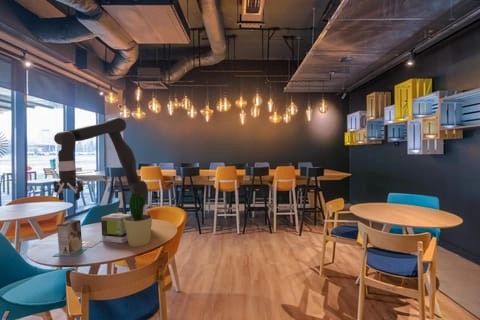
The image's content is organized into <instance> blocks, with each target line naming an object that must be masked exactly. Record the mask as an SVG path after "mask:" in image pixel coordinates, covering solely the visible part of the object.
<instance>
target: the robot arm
mask: <svg viewBox="0 0 480 320" xmlns="http://www.w3.org/2000/svg"><path fill="white" fill-rule="evenodd" d="M126 128H127V123H126V121H125V119H123V118H122V117H112V118H109V119H107V120H106V121H105V122H103V123H99V124H98V123H97V124H92V125H91V124H90V125H85V126H81V127H77V128H75V129H70V130H63V131H59V132H56V134H55V135H53V136H54V137H53V141H54V142H55V144H57V145H60V147H61V148H60V149H59V150H58V152H57V159H58V163H57V164H58V165H57V168H58V179H59V180H54V181H53V193H56V194H58V200H59V201H64V191H65V190H72V191H73V192H74V198H75V199H74V200H75V201H78V200H80V198H81V196H80V195H81V194H80V193H81V192H83V191H84V185H83V180H82V179H78V180H77V179H76V178H77V171H76V161H75V148H76V142H81V141H86V140H90V139H94V138H95V137H99V136H103V135H106V134H108V136H109V138H110V140H111V142H112V144H113V146H114V149H115V152H116V154H117V157H118V160H119V163H120V164H121V167H122V170H123V173H124V175H125V177H126V182H127V186H128V188H129V191H130V192H131V193H132V194H134V193H138V192H139V193H140V194H141V195H143V197H144V199H145V206H144V207H143V214H148V210H147V209H148V207H147V206H148V204H147V203H148V184H147V182H145V181H144V180H140V178H139V175H138V173H137V160H136V157H135V154H134V152H133V150H132V148H131V147H130V146H129V144H127V143H126V141H125V139H124V138H123V136H122V134H121V133H122V132H124V131H125V130H126Z"/></svg>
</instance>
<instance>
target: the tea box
mask: <svg viewBox="0 0 480 320" xmlns="http://www.w3.org/2000/svg"><path fill="white" fill-rule="evenodd" d="M129 216H132V213H115V212H114V213H110V214H106V215H104V216H101V217H100V220H101V221H100V223H101V238H102V239H101V242H109V243H117V244H118V243H119V244H123V243H126V242H128V238H127V234H126V229H125V224H124V218H126V217H129Z"/></svg>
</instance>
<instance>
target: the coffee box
mask: <svg viewBox="0 0 480 320" xmlns="http://www.w3.org/2000/svg"><path fill="white" fill-rule="evenodd" d="M81 226H82V225H81V220H80V219H70V220H66V221H64V222H61V223H59V224H56V231H57V242H58V253H59V255H71V254H73V253H75V252H77V251H79V250H81V249H82V248H83V247H82V241H83V240H82V239H83V237H82V229H81V228H82V227H81Z"/></svg>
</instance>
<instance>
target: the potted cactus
mask: <svg viewBox="0 0 480 320" xmlns="http://www.w3.org/2000/svg"><path fill="white" fill-rule="evenodd" d="M128 202H129V203H128V206H129V207H128V210H130V211H129V212H130V214H132V216H129V217H126V218H124V224H125V229H126V234H127V238H128V241H127V242H128V245H129V247H133V248H134V247H135V248H137V247H143V246H147V245H148V244H150V242H151V234H152V233H151V231H152V225H153V224H152V223H153V215H151V214H148V213H147V214H143V207H144V206H145V199H144V197H143V195H141V194H140V193H139V192H138V193H132V194H131V195H130V196H129V201H128Z"/></svg>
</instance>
